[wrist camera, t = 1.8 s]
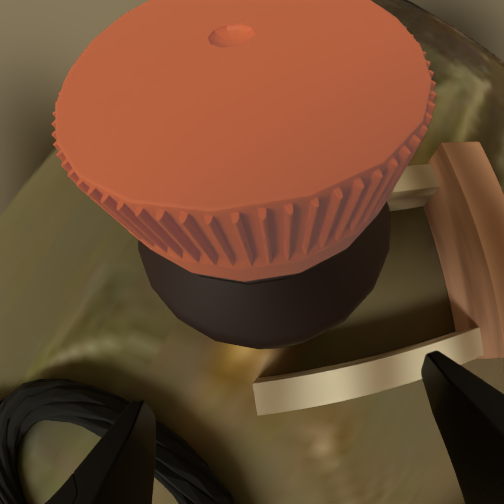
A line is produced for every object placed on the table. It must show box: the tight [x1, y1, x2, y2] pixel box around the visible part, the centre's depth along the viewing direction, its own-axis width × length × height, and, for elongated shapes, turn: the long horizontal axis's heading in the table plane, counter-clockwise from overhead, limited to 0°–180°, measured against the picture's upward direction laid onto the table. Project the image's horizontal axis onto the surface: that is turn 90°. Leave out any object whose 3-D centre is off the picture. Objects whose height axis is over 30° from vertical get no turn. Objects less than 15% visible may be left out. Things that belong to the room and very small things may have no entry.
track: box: [253, 142, 504, 415], centre depth 19 cm, size 20×15×6 cm
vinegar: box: [52, 0, 437, 349], centre depth 13 cm, size 7×7×20 cm
